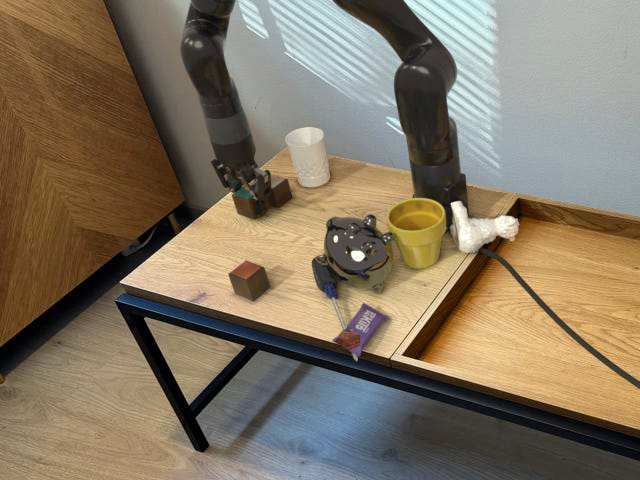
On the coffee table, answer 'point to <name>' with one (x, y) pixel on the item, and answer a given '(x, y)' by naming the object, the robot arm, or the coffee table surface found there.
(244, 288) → the red-topped brown block
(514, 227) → the sitting furry creature
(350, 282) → the piggy bank
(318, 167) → the white cup
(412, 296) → the coffee table surface
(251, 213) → the teal topped brown block
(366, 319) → the snack package
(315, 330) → the coffee table surface
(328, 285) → the screwdriver
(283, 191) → the brown block
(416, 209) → the flower pot
